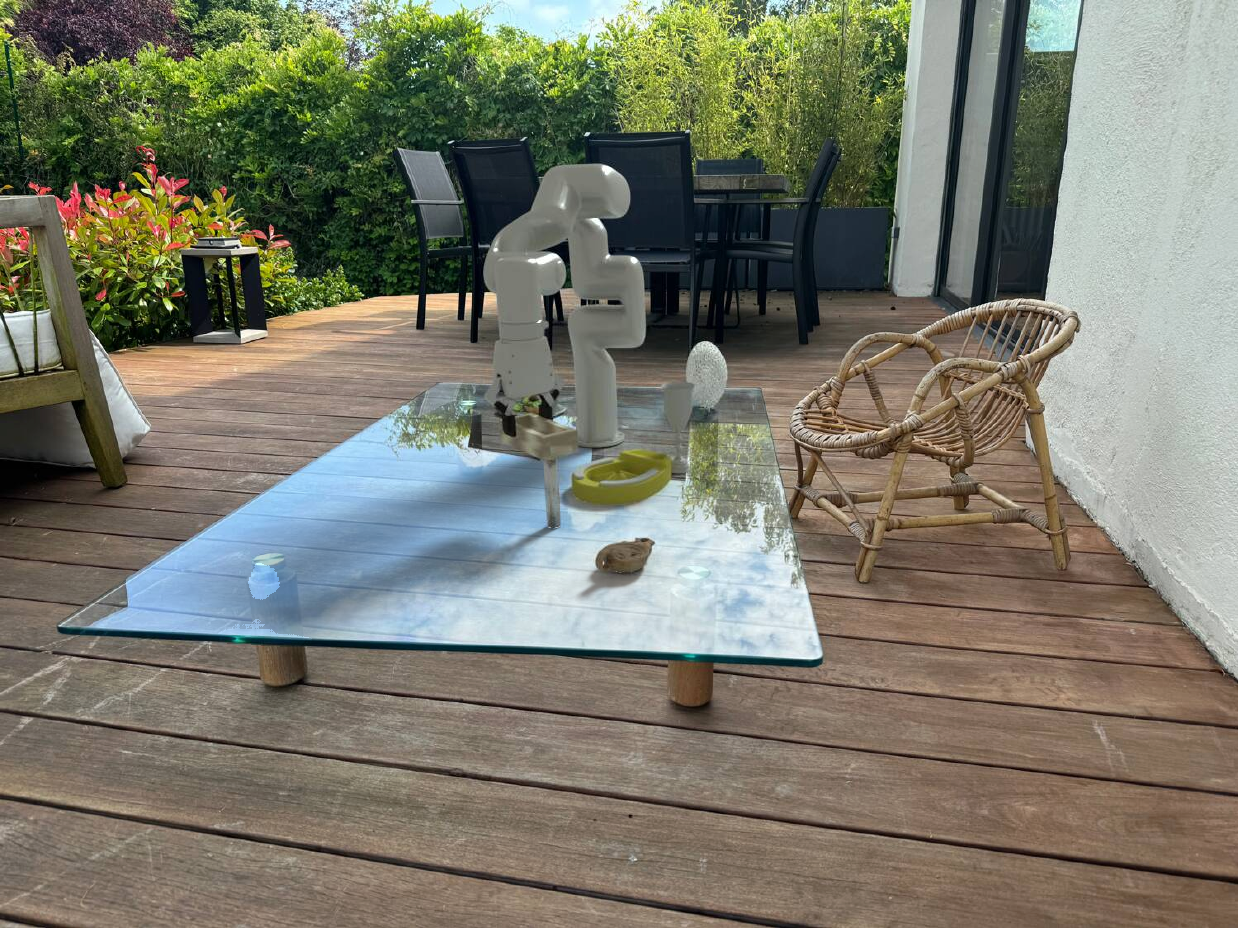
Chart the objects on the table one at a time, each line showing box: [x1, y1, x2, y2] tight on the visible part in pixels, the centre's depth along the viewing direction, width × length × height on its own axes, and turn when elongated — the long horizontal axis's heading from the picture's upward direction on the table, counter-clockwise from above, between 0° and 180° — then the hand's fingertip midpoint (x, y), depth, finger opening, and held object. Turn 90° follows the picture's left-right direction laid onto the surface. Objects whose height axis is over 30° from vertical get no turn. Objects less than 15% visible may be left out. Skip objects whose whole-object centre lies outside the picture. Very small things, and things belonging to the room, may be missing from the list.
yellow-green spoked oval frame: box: [571, 448, 672, 506], centre depth 168 cm, size 16×21×5 cm
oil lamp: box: [594, 537, 656, 573], centre depth 132 cm, size 13×8×5 cm, turn 140°
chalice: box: [660, 381, 695, 474], centre depth 175 cm, size 7×7×18 cm
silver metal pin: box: [542, 458, 562, 528], centre depth 148 cm, size 4×4×16 cm
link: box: [497, 413, 579, 461], centre depth 149 cm, size 15×7×4 cm, turn 37°
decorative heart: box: [685, 340, 728, 413], centre depth 224 cm, size 18×11×17 cm, turn 0°
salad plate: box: [512, 395, 567, 418], centre depth 226 cm, size 19×18×5 cm
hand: (528, 430), depth 151 cm, fingers closed on link, 6 cm apart
